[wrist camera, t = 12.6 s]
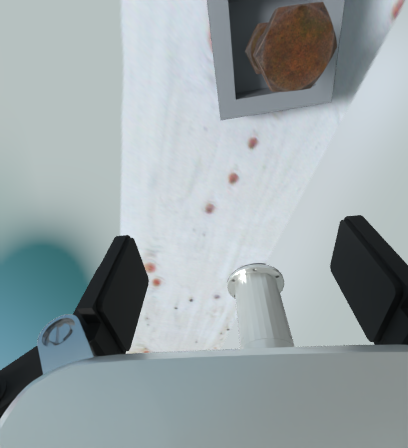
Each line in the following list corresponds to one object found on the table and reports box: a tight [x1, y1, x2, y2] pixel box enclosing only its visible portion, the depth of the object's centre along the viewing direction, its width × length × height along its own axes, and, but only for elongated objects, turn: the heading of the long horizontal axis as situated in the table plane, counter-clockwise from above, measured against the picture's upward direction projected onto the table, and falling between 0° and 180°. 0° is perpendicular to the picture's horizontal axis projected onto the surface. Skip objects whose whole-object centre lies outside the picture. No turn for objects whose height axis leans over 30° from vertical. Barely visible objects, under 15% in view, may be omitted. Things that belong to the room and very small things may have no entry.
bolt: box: [245, 2, 337, 92], centre depth 23 cm, size 6×5×15 cm
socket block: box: [207, 0, 345, 120], centre depth 28 cm, size 13×13×6 cm
